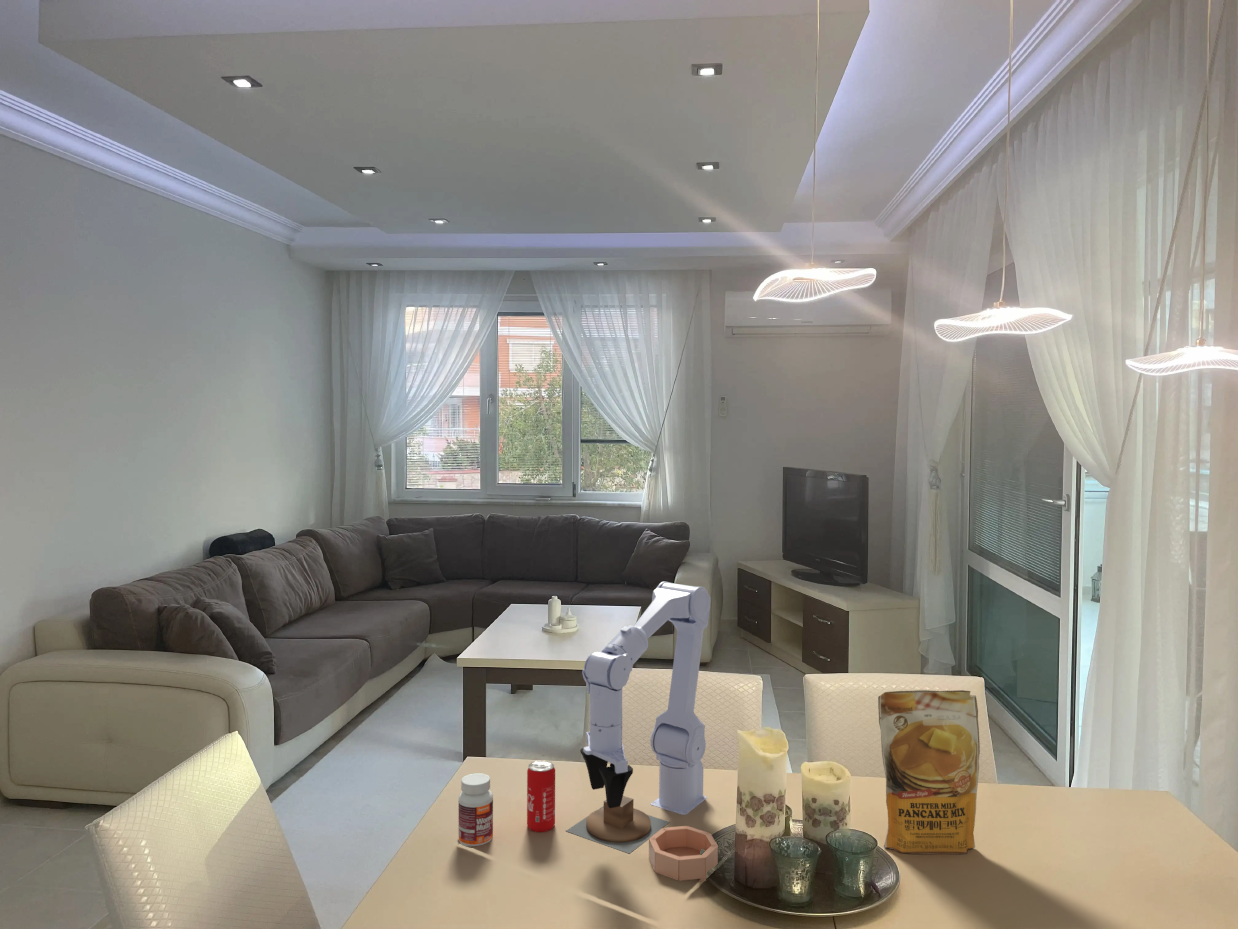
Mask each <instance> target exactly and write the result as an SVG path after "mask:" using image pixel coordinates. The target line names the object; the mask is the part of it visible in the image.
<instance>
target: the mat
mask: <svg viewBox="0 0 1238 929" xmlns="http://www.w3.org/2000/svg"><path fill="white" fill-rule="evenodd" d="M602 808H604V805H602V806H601V807H600V808H598V809H597V810H599V809H602ZM647 815H648V816H649V818H650V820H651V828H650V831H649V833H648V834H647V835H646V836H644V837H643V838H641V839H638V840H635V841H631V842H623V843H615V842H607V841H603V840H600V839H597V838H595V837H593V836H592V835H591V834H589V832H588V831H587V829H586V820H587V817H588V816H589V815H587V816H586V817H584V818H583V819H582V820H580V821H579V822H577V823H575V824H574V825H572V826H571V827H570V828H568V829H566V830H565V832H566V833H570V834H572V835H575V836H578V837H581V838H583V839H587V840H589V841H592V842H595V843H598V844H601V845H604V846H605V847H608V848H611V849H613V850H617V851H620V852H623V853H625V854H629V855H630V854H631V853H633V852H634V851H635V850H636V849H638V848H639V847H640V846H642V845H643V844H644V843H645V842H647V841H649V838H650V837H652V836H653V835H654V834H655V833H657V832H658V831H659V830H660V829H662V828H665V827H666V826H667V825H668V824H669V823H671V821H668V820H665V819H663V818H659V817H656V816H654V815H653V816H652V815H649V814H647Z"/></svg>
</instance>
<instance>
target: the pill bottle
mask: <svg viewBox="0 0 1238 929" xmlns="http://www.w3.org/2000/svg"><path fill="white" fill-rule="evenodd" d="M460 783H461V785H460V787H461V788H460V789H461V792H460V794H459V795H458V841H459V843H460V845H462V846H464V847H466V848H471V849H472V848H474V847H475V846H482V845H486V844H488V843H489V842H490V841H491V840H493V838H494V837H493V836H494V794H493V793H492V791H491V790H490V789H491V777H490V776H489V775H488V774H486V773H481V772H477V773H475V772H474V773H470V774H466V775H465V776H463V777H462V778H461V782H460Z"/></svg>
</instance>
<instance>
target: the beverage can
mask: <svg viewBox="0 0 1238 929" xmlns="http://www.w3.org/2000/svg"><path fill="white" fill-rule="evenodd" d="M526 775H527V776H526V777H527V778H526V783H527V784H526V787H527V789H526V825H527V827H528V829H529V830H530V831H532V832H536V833H545V832H549V831H551V830H552V829H553V828H554V826H555V824H556V767H555V764H554V762H552V761H548V760H535V761H532V762H531V763H529V764H528V768H527V771H526Z"/></svg>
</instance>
